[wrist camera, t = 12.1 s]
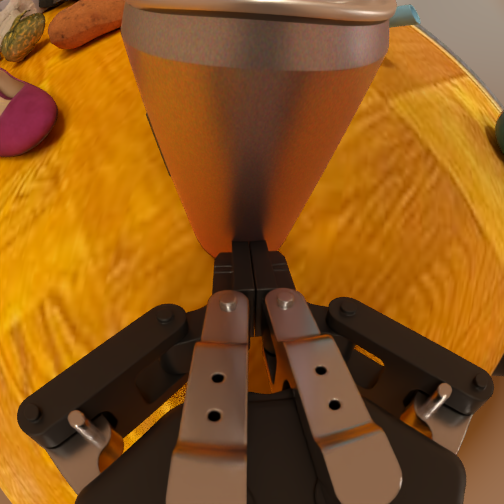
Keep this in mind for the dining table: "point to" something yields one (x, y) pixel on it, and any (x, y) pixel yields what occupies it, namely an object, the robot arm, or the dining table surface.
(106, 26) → the potato
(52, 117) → the high heel
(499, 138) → the ball
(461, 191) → the dining table surface
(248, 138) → the beverage can
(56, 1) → the toy
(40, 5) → the caster wheel
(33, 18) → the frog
